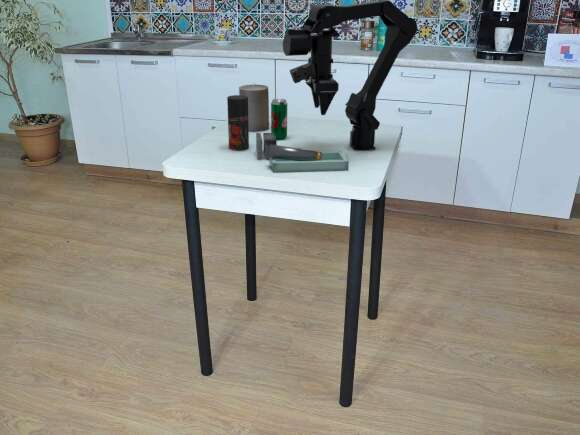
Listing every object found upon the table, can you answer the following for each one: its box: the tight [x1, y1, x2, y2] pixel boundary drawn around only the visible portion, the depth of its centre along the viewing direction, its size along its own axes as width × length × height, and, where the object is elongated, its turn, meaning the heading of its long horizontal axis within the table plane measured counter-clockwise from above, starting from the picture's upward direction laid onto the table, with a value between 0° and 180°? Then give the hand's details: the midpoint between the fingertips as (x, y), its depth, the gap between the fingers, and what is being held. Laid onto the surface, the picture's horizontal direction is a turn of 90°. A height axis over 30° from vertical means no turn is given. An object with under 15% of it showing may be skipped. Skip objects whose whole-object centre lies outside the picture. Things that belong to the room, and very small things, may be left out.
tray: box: [269, 150, 350, 173], centre depth 148 cm, size 20×9×2 cm, turn 97°
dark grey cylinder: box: [268, 144, 323, 161], centre depth 146 cm, size 14×3×3 cm, turn 97°
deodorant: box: [226, 94, 250, 152], centre depth 160 cm, size 6×6×15 cm
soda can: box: [270, 98, 288, 141], centre depth 171 cm, size 5×5×12 cm
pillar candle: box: [238, 82, 270, 133], centre depth 182 cm, size 10×10×15 cm
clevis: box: [255, 132, 278, 161], centre depth 155 cm, size 5×8×6 cm, turn 7°
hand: (319, 111), depth 156 cm, fingers open, 9 cm apart
